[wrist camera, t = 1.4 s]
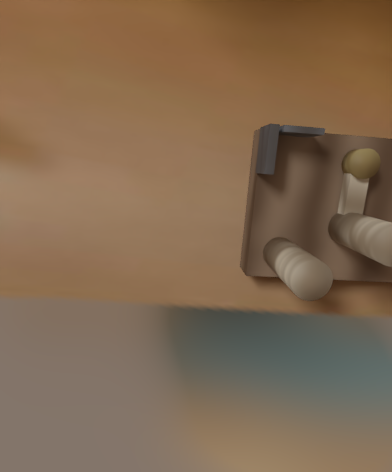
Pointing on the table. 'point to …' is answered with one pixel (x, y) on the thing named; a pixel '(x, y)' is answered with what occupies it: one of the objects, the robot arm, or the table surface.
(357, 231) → the hinged leg
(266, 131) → the peg board
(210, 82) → the table surface
